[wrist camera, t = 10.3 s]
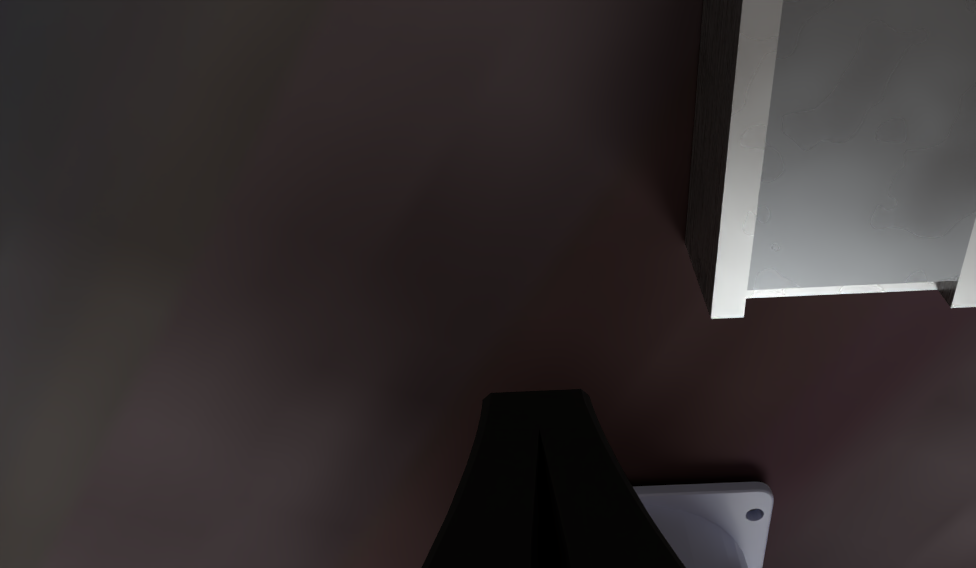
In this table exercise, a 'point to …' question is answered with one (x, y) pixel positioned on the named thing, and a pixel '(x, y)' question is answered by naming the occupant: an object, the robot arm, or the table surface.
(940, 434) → the table surface
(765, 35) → the rack
